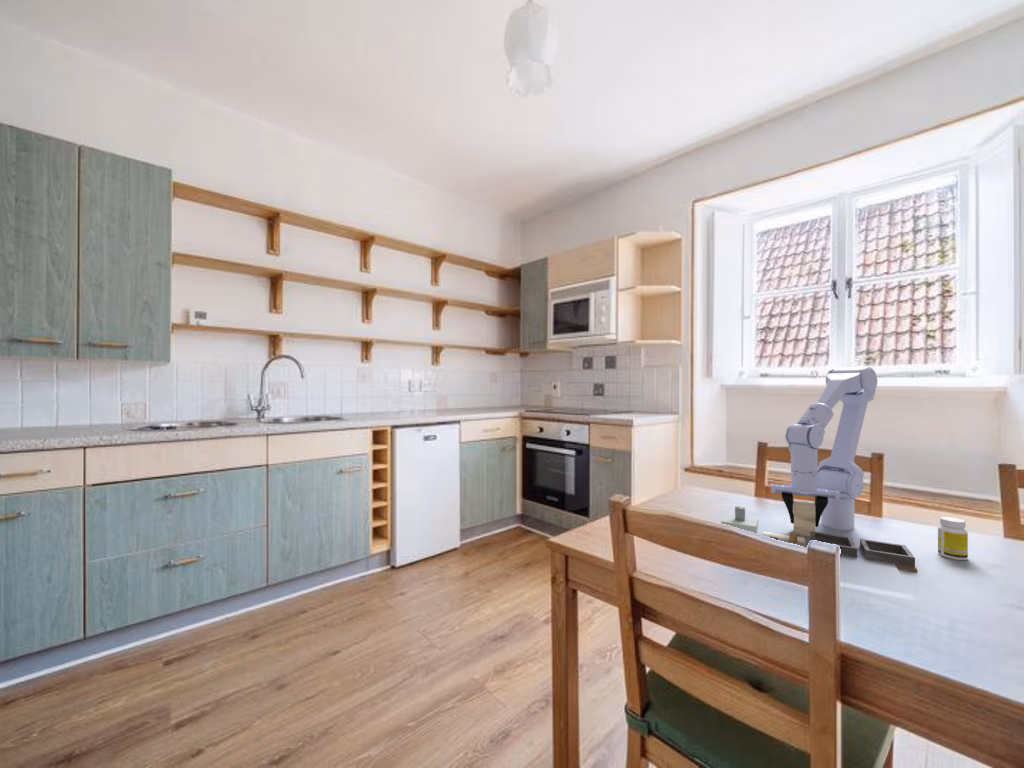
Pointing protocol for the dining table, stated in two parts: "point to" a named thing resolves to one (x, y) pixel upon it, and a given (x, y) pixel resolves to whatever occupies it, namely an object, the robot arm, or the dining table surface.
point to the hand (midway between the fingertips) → (804, 523)
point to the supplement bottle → (952, 538)
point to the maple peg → (804, 517)
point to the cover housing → (741, 520)
